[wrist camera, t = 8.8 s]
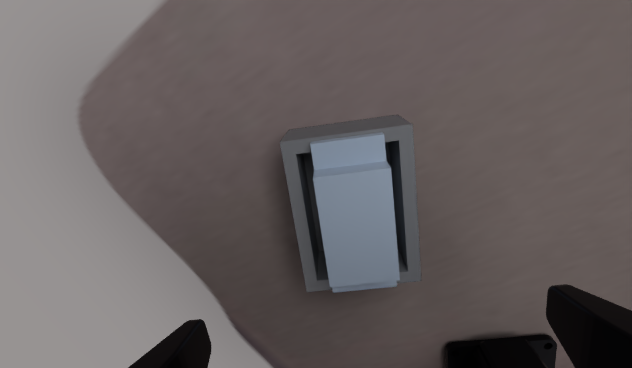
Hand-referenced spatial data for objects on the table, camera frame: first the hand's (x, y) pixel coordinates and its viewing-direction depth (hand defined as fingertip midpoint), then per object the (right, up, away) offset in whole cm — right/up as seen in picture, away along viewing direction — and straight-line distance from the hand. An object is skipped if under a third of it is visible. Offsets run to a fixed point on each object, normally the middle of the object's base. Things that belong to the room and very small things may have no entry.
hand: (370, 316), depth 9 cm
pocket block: (+1, +3, +10) cm, 10 cm away
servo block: (+1, +3, +9) cm, 10 cm away
